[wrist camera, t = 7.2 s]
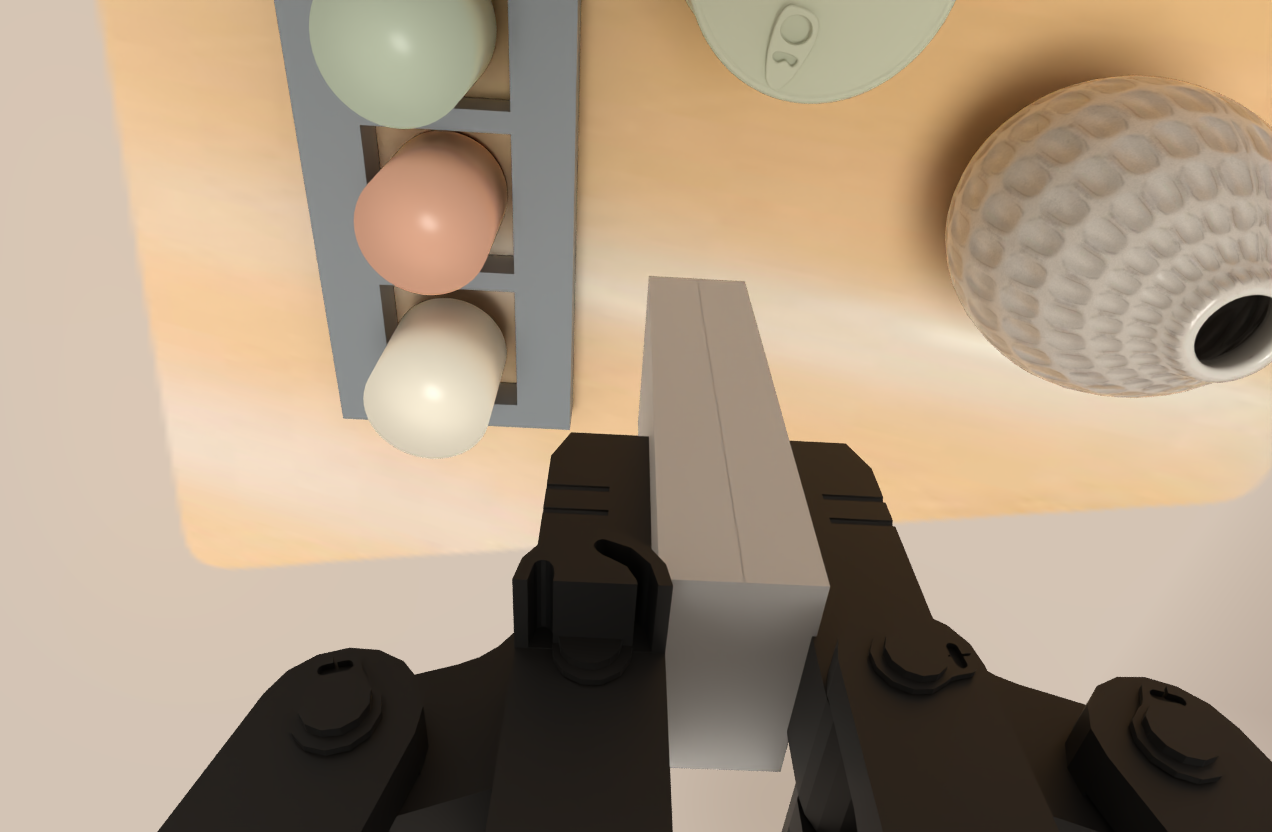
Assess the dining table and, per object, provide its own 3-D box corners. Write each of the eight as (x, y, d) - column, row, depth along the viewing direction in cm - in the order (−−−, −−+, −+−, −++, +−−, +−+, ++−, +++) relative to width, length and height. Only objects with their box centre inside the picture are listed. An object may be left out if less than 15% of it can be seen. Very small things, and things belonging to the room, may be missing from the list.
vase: (877, 283, 44) (988, 464, 30) (961, 29, 37) (1157, 111, 23) (1097, 313, 45) (1304, 502, 31) (1219, 71, 38) (1557, 174, 24)
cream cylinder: (389, 294, 42) (355, 349, 37) (505, 301, 42) (487, 356, 37) (400, 392, 45) (371, 455, 40) (508, 398, 45) (492, 461, 40)
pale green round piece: (347, -62, 33) (296, -55, 28) (494, -52, 33) (469, -42, 28) (365, 91, 36) (322, 123, 31) (498, 100, 36) (476, 133, 31)
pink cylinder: (382, 126, 39) (345, 161, 34) (506, 134, 39) (486, 169, 34) (395, 244, 42) (362, 291, 37) (509, 250, 42) (492, 298, 37)
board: (275, -126, 34) (252, -127, 32) (583, -104, 34) (579, -104, 32) (355, 396, 48) (343, 418, 46) (572, 407, 48) (569, 429, 46)
